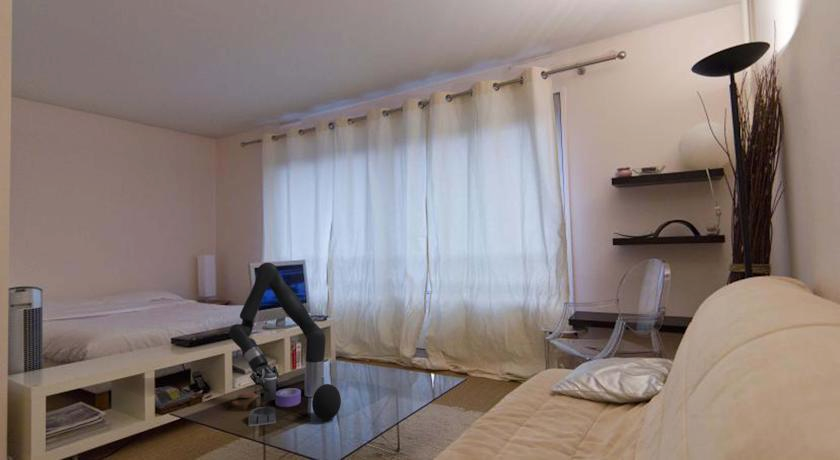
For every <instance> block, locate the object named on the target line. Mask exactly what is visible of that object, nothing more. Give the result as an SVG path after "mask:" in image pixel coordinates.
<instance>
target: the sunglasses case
mask: <svg viewBox="0 0 840 460" xmlns="http://www.w3.org/2000/svg"><path fill="white" fill-rule="evenodd" d="M259 398H261V395H259V394H256V393H254V392H253V391H250V390H249V389H246V390H245V391H244V392H242V393H241V394H240V395H238V396H237V397H235V399H233V400H232V401H231V402H230V403H229V405H228V407H229V410H247V409H248V408H249V407H250V406H251V405H252V404H253V403H254V402H255V401H257V400H258V399H259Z"/></svg>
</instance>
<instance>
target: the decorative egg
mask: <svg viewBox="0 0 840 460" xmlns="http://www.w3.org/2000/svg"><path fill="white" fill-rule="evenodd" d="M341 403H342V398H341V393H340V391H339V390H338V388H337V387H336V386H335V385H333V384H331V383H324V385H322V386H320V387H319V388H318V389H317V390H316V392H315V393H314V396H313V397H312V399H311V405H312V407H311V408H312V412H313V413H314V415H315V417H317V418H318V419H319V420H321V421H330V420H332V419H334V418H335V417H336V416H337V415H338V413H339V411H340V408H341Z"/></svg>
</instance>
